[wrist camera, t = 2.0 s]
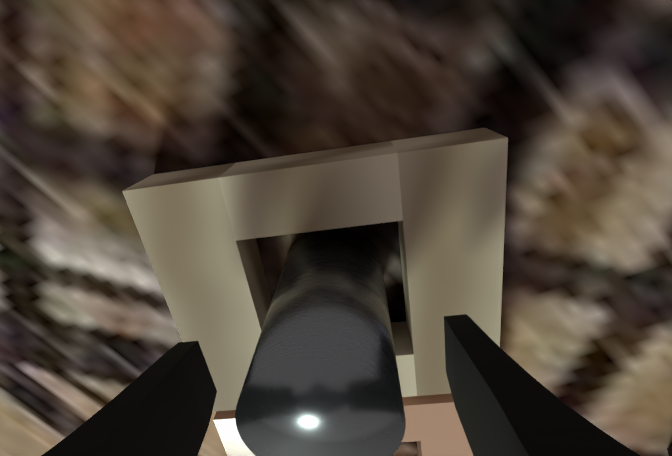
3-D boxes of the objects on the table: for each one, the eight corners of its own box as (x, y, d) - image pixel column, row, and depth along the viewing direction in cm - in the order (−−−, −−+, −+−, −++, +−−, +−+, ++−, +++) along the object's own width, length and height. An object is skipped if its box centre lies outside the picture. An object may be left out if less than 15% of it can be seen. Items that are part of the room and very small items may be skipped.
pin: (376, 221, 14) (398, 351, 8) (386, 307, 16) (411, 475, 9) (275, 234, 14) (214, 367, 8) (294, 316, 16) (257, 483, 10)
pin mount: (484, 127, 12) (508, 137, 11) (481, 353, 16) (497, 389, 14) (153, 174, 13) (122, 190, 12) (224, 375, 17) (210, 411, 16)
